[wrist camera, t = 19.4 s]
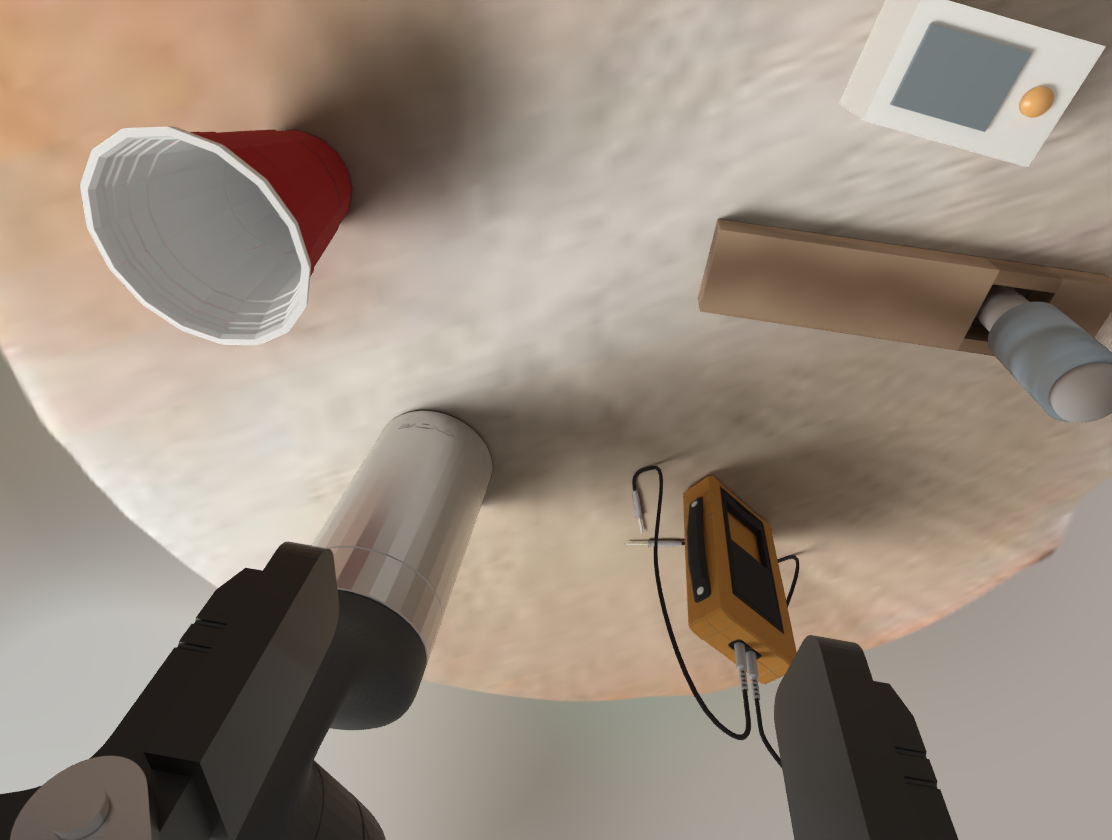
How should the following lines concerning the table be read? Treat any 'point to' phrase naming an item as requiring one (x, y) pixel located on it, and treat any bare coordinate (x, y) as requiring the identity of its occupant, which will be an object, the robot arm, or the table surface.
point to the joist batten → (879, 286)
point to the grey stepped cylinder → (1049, 355)
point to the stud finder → (967, 77)
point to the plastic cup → (216, 224)
